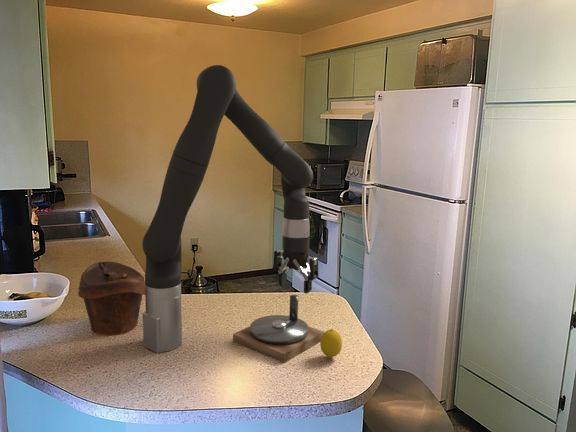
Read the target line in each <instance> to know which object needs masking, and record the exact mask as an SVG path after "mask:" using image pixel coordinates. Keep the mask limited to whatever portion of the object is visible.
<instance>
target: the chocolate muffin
mask: <svg viewBox="0 0 576 432" xmlns="http://www.w3.org/2000/svg"><path fill="white" fill-rule="evenodd" d="M77 295H78V297H80V298H81V299H83V302H84V306H85V309H86V313H87V317H88V322H89V323H90V328H91V331H92V332H93V333H94V334H97V335H102V336H117V335H123V334H127V333H128V332H130V331H132V330H135V328H136V327H137V325H138V322H139V316H140V310H141V309H140V308H141V305H142V301H143V296H145V276H144V275H143V274H141V273H140V272H139V271H137V270H136V269H134V268H132V267H130V266H128V265H125V264H122V263H119V262H114V261H98V262H95V263H94V264H91V265H90V266H89V267H87V268H86V269H85V270H84V271H83V272H82V274H81V276H80V279H79V286H78V293H77Z"/></svg>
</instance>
